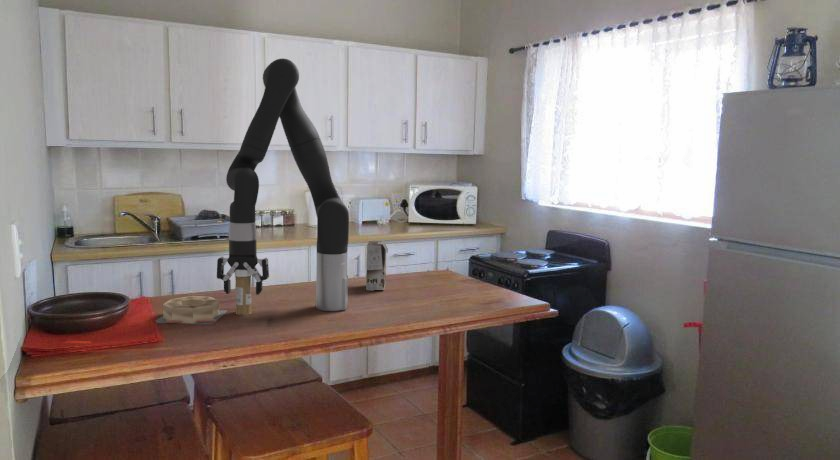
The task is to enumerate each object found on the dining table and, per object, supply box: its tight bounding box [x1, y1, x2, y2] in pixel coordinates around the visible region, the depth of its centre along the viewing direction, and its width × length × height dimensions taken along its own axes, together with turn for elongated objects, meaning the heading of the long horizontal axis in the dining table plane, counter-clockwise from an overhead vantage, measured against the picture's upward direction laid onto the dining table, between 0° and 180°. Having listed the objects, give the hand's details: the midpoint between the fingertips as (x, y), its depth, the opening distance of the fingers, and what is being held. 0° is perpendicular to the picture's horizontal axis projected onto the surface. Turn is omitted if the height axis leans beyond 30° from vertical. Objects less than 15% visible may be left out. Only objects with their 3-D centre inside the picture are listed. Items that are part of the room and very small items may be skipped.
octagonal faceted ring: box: [162, 295, 220, 323], centre depth 167 cm, size 14×14×4 cm
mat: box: [155, 309, 229, 325], centre depth 168 cm, size 16×14×1 cm
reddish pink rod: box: [165, 319, 216, 324], centre depth 161 cm, size 12×1×1 cm, turn 101°
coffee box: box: [365, 240, 387, 291], centre depth 210 cm, size 9×6×16 cm
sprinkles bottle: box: [234, 270, 253, 316], centre depth 172 cm, size 5×5×14 cm
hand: (243, 293), depth 172 cm, fingers open, 8 cm apart
